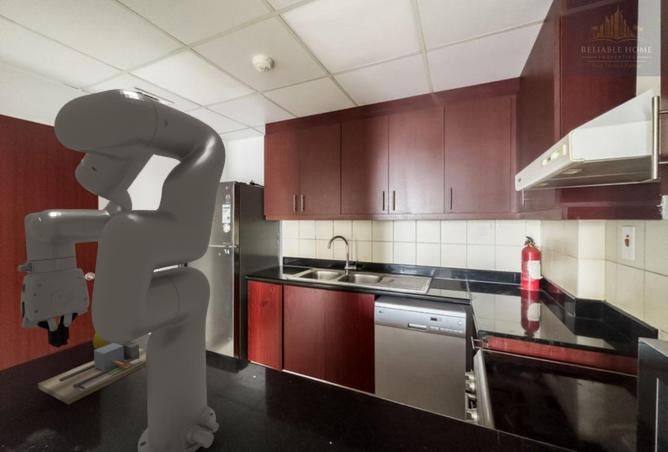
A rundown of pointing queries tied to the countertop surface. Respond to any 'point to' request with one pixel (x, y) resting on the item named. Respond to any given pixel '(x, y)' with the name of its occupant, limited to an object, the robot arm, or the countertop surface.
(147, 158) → the robot arm
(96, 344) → the lemon
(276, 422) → the countertop surface
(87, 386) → the gauge board
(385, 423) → the countertop surface
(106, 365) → the slider block with pointer
